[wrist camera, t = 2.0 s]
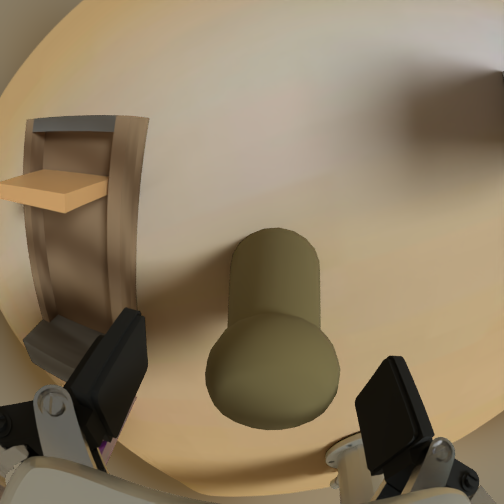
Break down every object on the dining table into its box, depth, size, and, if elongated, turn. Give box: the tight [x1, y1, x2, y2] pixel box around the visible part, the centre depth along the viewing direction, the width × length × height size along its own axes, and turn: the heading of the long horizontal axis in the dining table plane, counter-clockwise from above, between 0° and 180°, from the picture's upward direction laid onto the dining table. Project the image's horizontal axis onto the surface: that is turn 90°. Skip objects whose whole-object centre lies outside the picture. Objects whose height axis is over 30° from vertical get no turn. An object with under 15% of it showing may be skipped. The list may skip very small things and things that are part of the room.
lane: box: [23, 115, 149, 382], centre depth 16 cm, size 21×10×6 cm, turn 168°
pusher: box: [0, 169, 109, 213], centre depth 13 cm, size 1×7×5 cm, turn 78°
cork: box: [205, 228, 340, 430], centre depth 13 cm, size 6×6×11 cm
